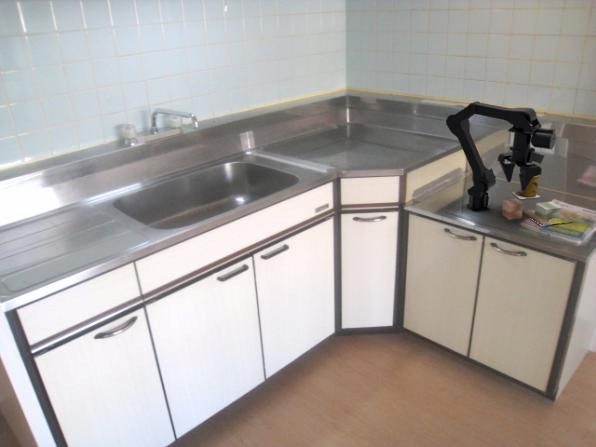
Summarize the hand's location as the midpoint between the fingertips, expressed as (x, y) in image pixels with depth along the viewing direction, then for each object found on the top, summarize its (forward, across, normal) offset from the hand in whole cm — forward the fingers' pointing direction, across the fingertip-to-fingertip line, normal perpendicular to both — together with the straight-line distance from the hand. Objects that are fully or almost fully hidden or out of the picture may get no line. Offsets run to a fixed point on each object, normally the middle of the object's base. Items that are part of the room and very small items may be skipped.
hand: (516, 186), depth 183 cm
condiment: (+12, +16, -16) cm, 26 cm away
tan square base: (+12, -6, -10) cm, 17 cm away
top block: (+12, 0, 0) cm, 12 cm away
